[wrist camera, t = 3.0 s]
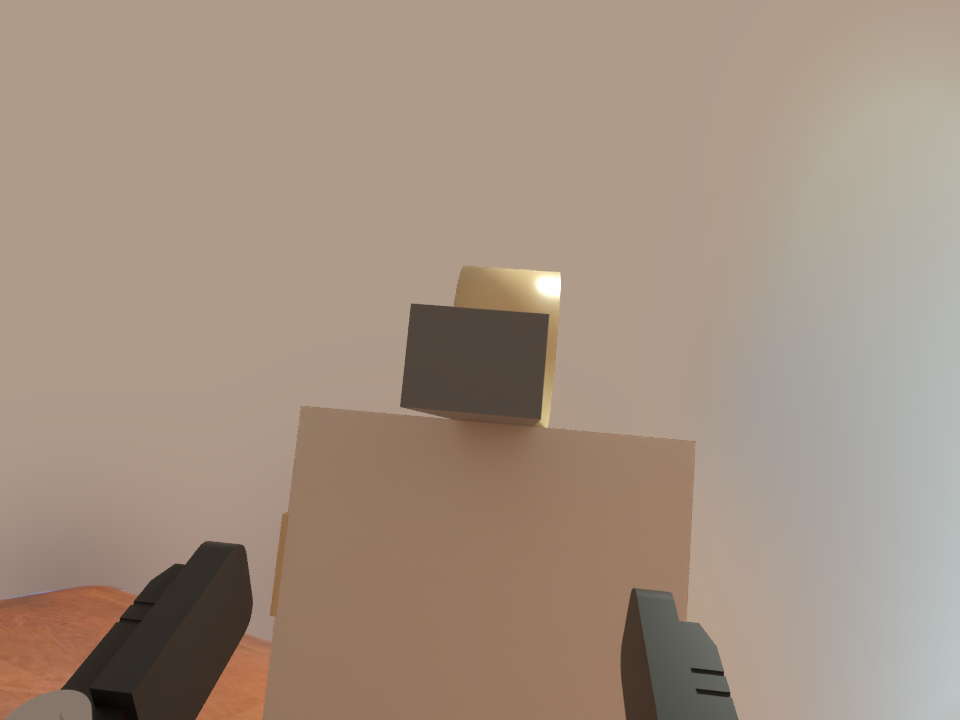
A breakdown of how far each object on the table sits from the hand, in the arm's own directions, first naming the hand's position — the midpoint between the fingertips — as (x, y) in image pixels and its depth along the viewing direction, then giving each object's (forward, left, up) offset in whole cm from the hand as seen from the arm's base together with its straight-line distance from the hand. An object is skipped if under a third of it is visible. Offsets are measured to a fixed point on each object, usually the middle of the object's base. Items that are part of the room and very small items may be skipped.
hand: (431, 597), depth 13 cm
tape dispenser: (-4, +17, +4) cm, 18 cm away
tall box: (-6, +25, -28) cm, 38 cm away
